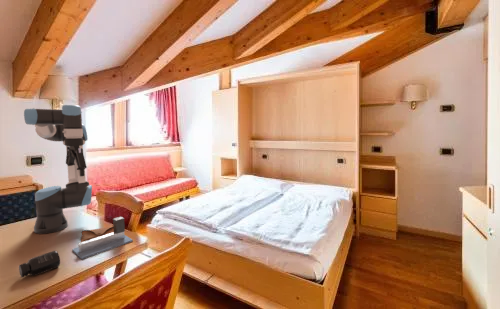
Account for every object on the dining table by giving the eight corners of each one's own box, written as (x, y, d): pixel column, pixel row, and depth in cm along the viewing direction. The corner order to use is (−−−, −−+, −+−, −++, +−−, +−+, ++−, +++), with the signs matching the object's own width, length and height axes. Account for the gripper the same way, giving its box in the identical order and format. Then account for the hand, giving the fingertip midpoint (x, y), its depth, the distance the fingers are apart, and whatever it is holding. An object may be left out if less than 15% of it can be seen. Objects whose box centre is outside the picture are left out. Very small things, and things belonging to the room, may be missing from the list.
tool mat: (72, 250, 121) (72, 249, 121) (121, 234, 139) (121, 233, 139) (81, 259, 114) (81, 257, 114) (132, 241, 131) (132, 239, 131)
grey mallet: (78, 251, 119) (76, 228, 118) (122, 236, 135) (120, 216, 133) (81, 253, 117) (79, 230, 116) (125, 238, 132) (124, 218, 131)
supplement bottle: (53, 251, 111) (16, 262, 101) (58, 249, 107) (20, 261, 97) (57, 267, 110) (20, 280, 100) (61, 265, 106) (23, 279, 96)
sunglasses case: (78, 243, 129) (79, 229, 131) (81, 244, 135) (81, 231, 137) (119, 236, 136) (118, 224, 139) (119, 238, 142) (119, 226, 145)
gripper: (56, 136, 129) (59, 177, 132) (74, 139, 114) (77, 186, 116) (73, 136, 135) (76, 175, 137) (92, 138, 119) (95, 183, 122)
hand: (76, 180), depth 127 cm, fingers open, 13 cm apart
